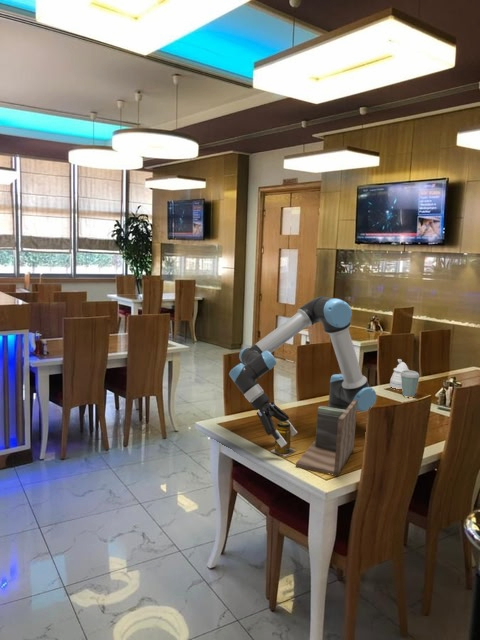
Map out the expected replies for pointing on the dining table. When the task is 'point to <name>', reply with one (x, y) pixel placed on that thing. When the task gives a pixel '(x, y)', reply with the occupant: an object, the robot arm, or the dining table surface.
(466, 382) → the dining table surface
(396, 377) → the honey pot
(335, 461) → the wooden l-shaped bookend
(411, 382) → the disposable coffee cup
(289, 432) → the condiment
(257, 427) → the dining table surface
